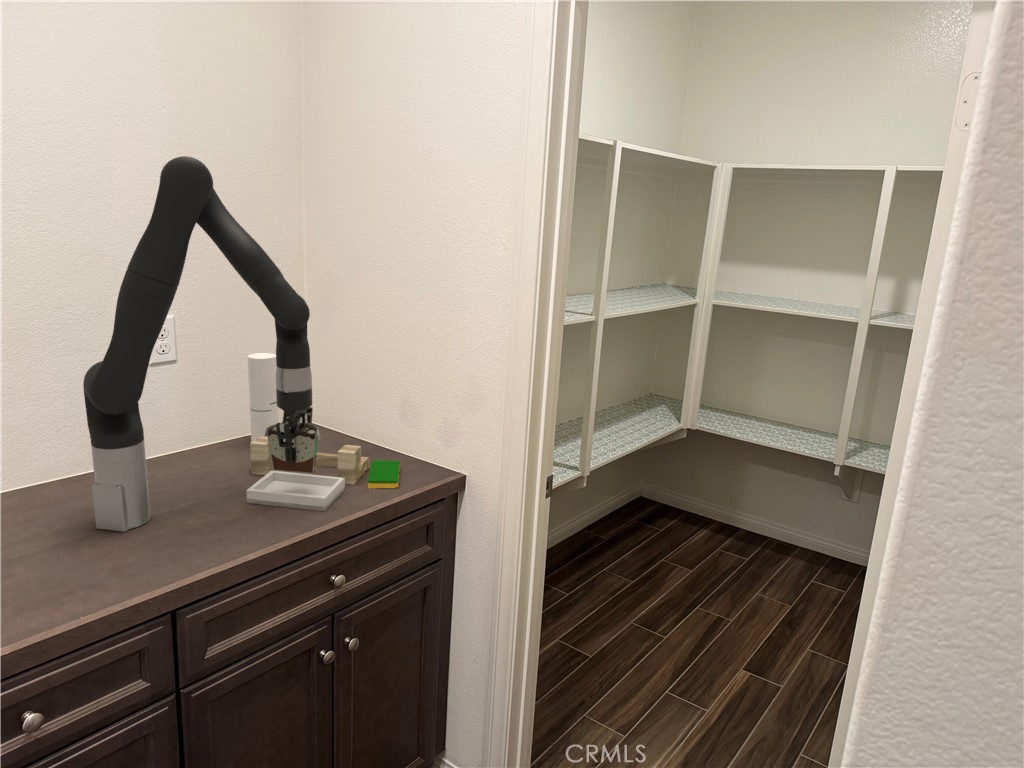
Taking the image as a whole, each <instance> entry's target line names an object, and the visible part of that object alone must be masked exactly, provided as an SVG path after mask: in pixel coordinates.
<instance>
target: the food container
mask: <svg viewBox="0 0 1024 768" xmlns="http://www.w3.org/2000/svg"><path fill="white" fill-rule="evenodd" d="M290 432H291V433H295V432H293V431H290ZM266 436H267V437H268V443H269V450H270V456H271V462H272V469H273V471H281V472H291V473H301V474H311V475H315V472H316V465H315V464H316V452H317V447H318V442H319V441H320V440H321V434H320V430H319V428H318V426H317V425H315V424H310V423H308V427H307V428H304V427H303V428H302V429H300V432H299V433H298V437H297V438H296V462H295V463H294V464H291V463H286V458H285V447H280V446H279V441H278V434H277V428H276V424H275V425H272V426H269V427H267V428H266V431H265V437H266ZM291 439H292V437H291ZM283 441H284V439H283Z"/></svg>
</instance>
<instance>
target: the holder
mask: <svg viewBox="0 0 1024 768" xmlns="http://www.w3.org/2000/svg"><path fill="white" fill-rule="evenodd" d="M249 445H250V446H249V448H250V451H249V452H250V469H251V470H250V471H251V472H250V473H251V475H258V476H265V475H267V474H268V473H269V472H270V471H273V469H272V462H271V456H270V450H269V443H268V437H258V438H257V439H255V440H254V441H252V442H249ZM369 462H370V458H369V457H367V456H362V446H361V445H352V444H351V445H350V444H344V445H343V446H342V447H340V449H339V450H338V451H337V453H328V452H327V453H326V452H320V451H319V452H317V451H316V464H315V467H316V466H317V467H325V468H326V467H327V468H335V469H337V477H340V478H345V485H353V486H354V485H355V484H356V483H357V482H358V481H359V480H360V479H361V478H362V477H363V476H364V475H365V473H366V472H367V471H368V470H369V469H370V465H369V464H370V463H369ZM368 468H369V469H368ZM367 469H368V470H367ZM366 470H367V471H366ZM365 471H366V472H365ZM361 476H362V477H361ZM360 477H361V478H360Z"/></svg>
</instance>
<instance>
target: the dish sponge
mask: <svg viewBox="0 0 1024 768" xmlns="http://www.w3.org/2000/svg"><path fill="white" fill-rule="evenodd" d="M400 471H401V461H400V460H390V459H389V460H379V459H378V460H375V459H374V460H371V465H370V467H369V474H368V478H367V489H370V490H372V489H373V490H375V488H395V487H398V488H399V484H398V483H400V482H399V480H400V474H399V472H400ZM371 488H372V489H371Z"/></svg>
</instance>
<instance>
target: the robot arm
mask: <svg viewBox="0 0 1024 768" xmlns="http://www.w3.org/2000/svg"><path fill="white" fill-rule="evenodd" d="M213 180H214V179H213V176H212V174H211V172H210V170H209V168H208V167H207V165H205V163H203V162H202V161H201V160H199V159H197V158H195V157H192V156H179V157H174V158H172V159H170V160H169V161H167V163H165V164H164V166H163V167H162V169H161V171H160V176H159V185H158V190H157V194H156V199H155V202H154V206H153V209H152V213H151V217H150V220H149V222H148V224H147V226H146V227H145V230H144V232H143V234H142V236H141V238H140V239H139V241H138V243H137V246H136V247H135V250H134V252H133V254H132V256H131V257H130V260H129V263H128V265H127V268H126V271H125V273H124V277H123V279H122V282H121V284H120V288H119V291H118V295H117V300H116V306H115V313H114V314H115V315H114V322H113V329H112V335H111V339H110V341H109V342H110V343H109V345H108V347H107V350H106V352H105V355H104V357H103V359H102V360H101V361H99V362H97V363H94V364H93V365H92V366H91V367H89V369H88V370H87V371H86V373H85V375H84V377H83V385H82V386H83V397H84V403H85V404H84V405H85V406H84V407H85V414H86V420H87V427H88V432H89V438H90V444H91V445H90V446H91V456H92V466H93V467H92V468H93V475H94V476H93V477H94V483H93V484H91V488H92V489H91V490H92V498H93V507H94V517H95V518H94V519H95V526H96V527H95V528H96V529H98V530H107V531H113V532H121V533H122V532H123V533H125V532H127V531H129V530H130V529H135V528H138V527H140V526H141V527H142V525H145V524H146V523H147V522H149V521H150V520H151V505H150V504H151V503H150V494H149V493H150V492H149V482H148V472H147V460H146V459H147V458H146V446H145V445H146V444H145V435H144V426H143V422H142V418H141V413H140V407H139V406H140V405H139V401H140V399H141V397H142V394H143V392H144V386H145V381H146V378H147V373H148V370H149V369H148V368H149V364H150V362H151V361H150V360H151V357H152V353H153V350H154V348H155V345H156V343H157V340H158V338H159V336H160V333H161V331H162V329H163V327H164V324H165V322H166V320H167V317H168V314H169V312H170V309H171V306H172V304H173V303H174V302H173V301H174V299H175V296H176V293H177V290H178V287H179V285H180V281H181V277H182V276H183V271H184V268H185V263H186V257H187V254H188V248H189V244H190V240H191V236H192V233H193V231H194V229H195V227H196V224H197V225H198V226H200V228H201V229H202V230H203V231H204V232H205V233H206V235H208V237H209V238H210V239H211V240H212V241H213V243H214V244H215V245H216V246H217V248H218V249H219V250H220V252H221V253H222V254H223V256H224V257H225V258H226V260H227V261H228V262H229V264H230V265H231V266H232V268H233V269H234V270H235V272H237V273H238V275H239V276H240V277H241V279H242V280H243V281H244V283H246V284H247V286H248V287H249V288H250V289H251V290H252V292H253V293H255V294H256V295H257V296H258V298H259V299H260V300H261V301H262V302H261V303H262V304H264V306H265V307H266V309H267V310H268V312H269V313H270V315H271V316H272V317H273V318H274V326H275V327H274V328H275V336H276V346H275V355H276V366H277V368H276V397H277V406H278V409H280V410H282V411H283V415H282V422H279V423H277V424H276V428H277V434H278V441H279V446H280V447H285V458H286V463H291V464H294V463H295V462H296V438H297V437H298V433H299V432H300V429H302V428H303V427H304V428H307V427H308V423H310V424H312V423H313V379H312V378H313V376H312V370H311V369H312V368H311V349H310V343H309V339H308V322H309V319H310V317H311V316H310V315H311V311H310V308H309V305H308V304H307V302H306V300H305V299H304V298H303V297H302V296H301V295H299V293H298V292H297V290H295V289H294V288H293V287H292V285H291V284H290V283H289V282H288V281H287V280H286V278H285V277H284V275H283V274H282V273H283V272H282V271H281V270H280V268H279V267H278V266H277V265H276V263H275V261H273V260H272V258H271V257H270V256H269V254H267V252H266V251H265V250H264V249H263V248H262V246H261V245H260V244H259V243H258V242H257V241H256V240H255V239H254V238H253V236H251V235H250V234H249V232H247V230H246V229H244V227H243V226H242V225H241V224H240V223H239V222H238V221H237V220H236V219H235V218H234V216H233V215H232V214H231V213H230V211H229V210H228V209H227V208H226V206H225V205H224V203H223V202H222V200H221V199H220V196H219V195H218V193H217V191H216V190H215V189H214V181H213ZM290 431H293V432H295V433H291V432H290ZM291 437H292V439H291ZM283 439H284V441H283Z"/></svg>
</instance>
